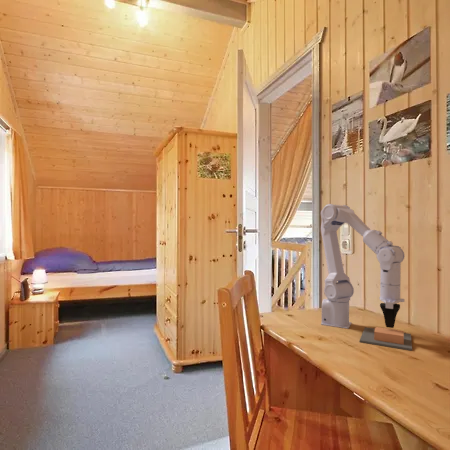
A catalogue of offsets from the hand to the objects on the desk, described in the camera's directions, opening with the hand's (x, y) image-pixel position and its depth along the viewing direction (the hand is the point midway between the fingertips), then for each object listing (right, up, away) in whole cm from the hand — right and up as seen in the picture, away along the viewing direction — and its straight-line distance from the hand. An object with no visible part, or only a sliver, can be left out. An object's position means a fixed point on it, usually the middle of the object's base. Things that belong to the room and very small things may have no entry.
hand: (389, 327), depth 104 cm
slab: (0, -2, +1) cm, 2 cm away
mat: (-1, -4, +1) cm, 4 cm away
